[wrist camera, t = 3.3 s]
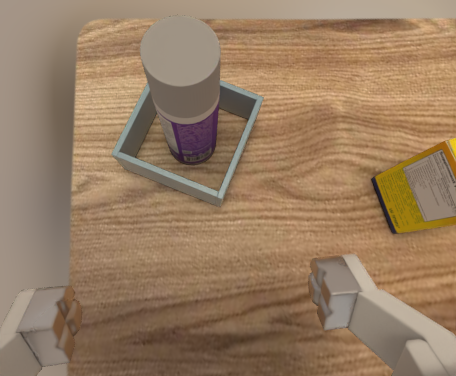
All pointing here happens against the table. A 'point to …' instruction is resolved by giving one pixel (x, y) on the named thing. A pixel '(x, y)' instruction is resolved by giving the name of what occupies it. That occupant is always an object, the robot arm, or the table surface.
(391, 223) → the supplement box
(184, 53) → the container
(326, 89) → the table surface
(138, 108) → the open box
